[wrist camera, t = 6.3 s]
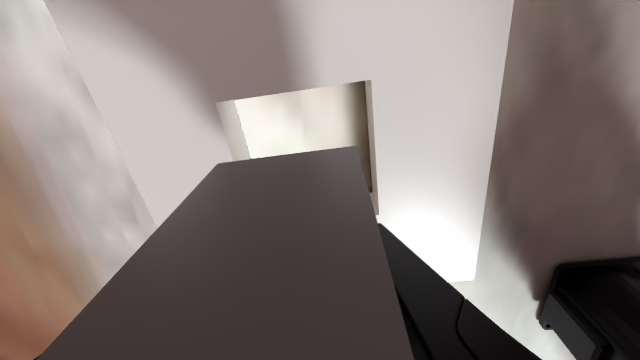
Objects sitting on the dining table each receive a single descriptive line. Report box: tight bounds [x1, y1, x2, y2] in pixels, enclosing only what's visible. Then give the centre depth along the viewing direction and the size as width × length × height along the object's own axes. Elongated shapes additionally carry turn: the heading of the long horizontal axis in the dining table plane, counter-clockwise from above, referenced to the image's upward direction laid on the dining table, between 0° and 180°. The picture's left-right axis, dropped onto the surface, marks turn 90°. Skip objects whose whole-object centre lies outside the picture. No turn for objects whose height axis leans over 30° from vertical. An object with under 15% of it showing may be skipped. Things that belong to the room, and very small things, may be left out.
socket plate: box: [44, 0, 514, 282], centre depth 15 cm, size 18×18×3 cm
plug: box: [37, 146, 414, 360], centre depth 6 cm, size 4×4×7 cm
